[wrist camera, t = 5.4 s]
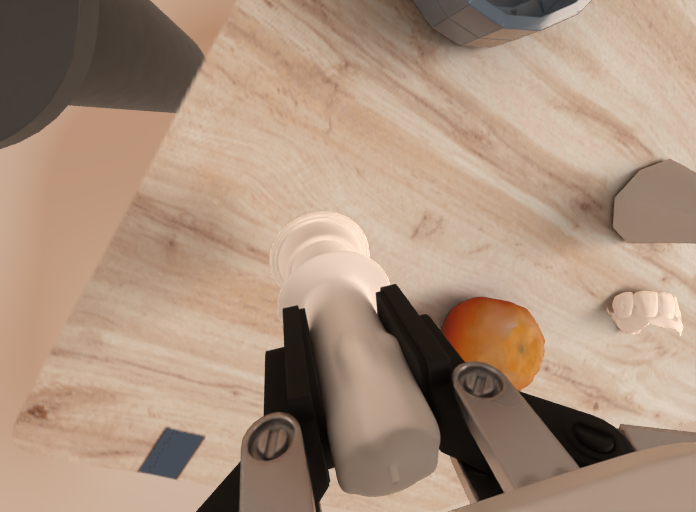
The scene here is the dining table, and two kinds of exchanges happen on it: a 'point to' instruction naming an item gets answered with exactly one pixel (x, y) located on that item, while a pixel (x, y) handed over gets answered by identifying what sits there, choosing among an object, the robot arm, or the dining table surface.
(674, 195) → the flask
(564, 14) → the bowl
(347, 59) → the dining table surface
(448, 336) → the fruit
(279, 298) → the candle
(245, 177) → the dining table surface
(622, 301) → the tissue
